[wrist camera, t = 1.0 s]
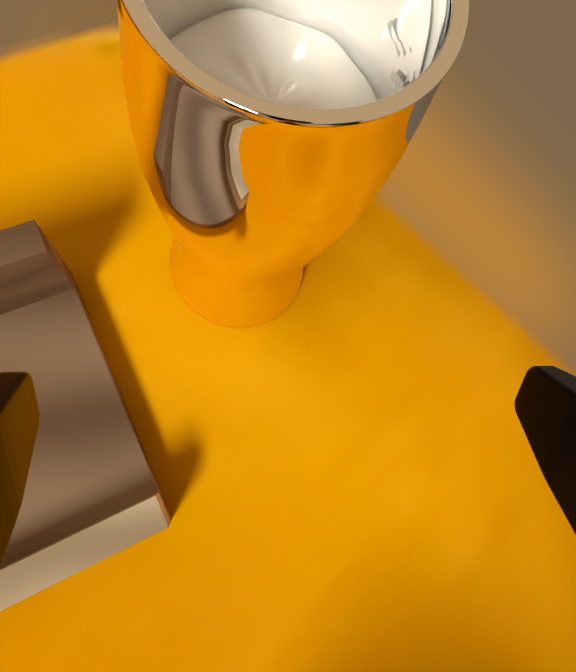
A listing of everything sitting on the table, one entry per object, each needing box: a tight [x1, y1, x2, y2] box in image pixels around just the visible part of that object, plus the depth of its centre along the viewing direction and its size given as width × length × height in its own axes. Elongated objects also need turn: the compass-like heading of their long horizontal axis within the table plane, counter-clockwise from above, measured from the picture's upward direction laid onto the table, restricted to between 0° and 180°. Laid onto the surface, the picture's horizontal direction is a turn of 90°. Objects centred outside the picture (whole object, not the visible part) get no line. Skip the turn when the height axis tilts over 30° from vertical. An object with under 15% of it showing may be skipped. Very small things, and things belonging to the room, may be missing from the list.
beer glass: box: [117, 0, 469, 328], centre depth 16 cm, size 7×7×15 cm
